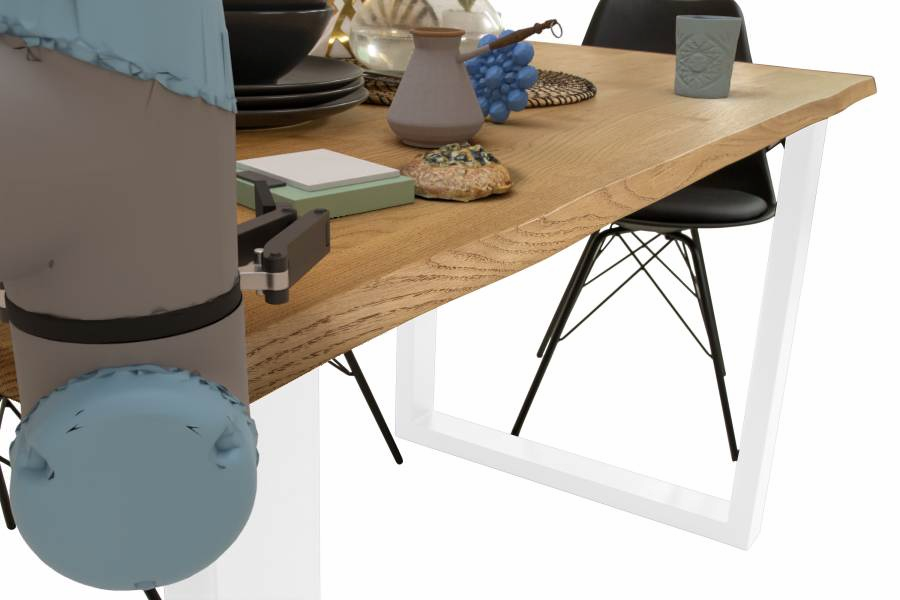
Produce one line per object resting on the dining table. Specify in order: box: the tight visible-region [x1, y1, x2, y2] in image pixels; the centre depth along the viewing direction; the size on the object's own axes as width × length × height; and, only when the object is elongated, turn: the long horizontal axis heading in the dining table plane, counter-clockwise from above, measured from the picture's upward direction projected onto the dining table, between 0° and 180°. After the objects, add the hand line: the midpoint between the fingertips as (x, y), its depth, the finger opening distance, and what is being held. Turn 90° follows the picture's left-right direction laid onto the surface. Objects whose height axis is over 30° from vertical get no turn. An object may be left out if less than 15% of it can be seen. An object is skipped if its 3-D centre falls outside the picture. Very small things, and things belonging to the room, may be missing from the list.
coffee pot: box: [386, 18, 564, 149], centre depth 114 cm, size 21×12×15 cm, turn 57°
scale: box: [236, 148, 415, 219], centre depth 92 cm, size 13×15×3 cm
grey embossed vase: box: [673, 14, 743, 99], centre depth 159 cm, size 10×10×12 cm
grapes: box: [464, 29, 539, 124], centre depth 131 cm, size 12×7×12 cm, turn 52°
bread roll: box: [400, 143, 515, 203], centre depth 96 cm, size 11×11×5 cm
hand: (151, 205), depth 63 cm, fingers open, 13 cm apart
